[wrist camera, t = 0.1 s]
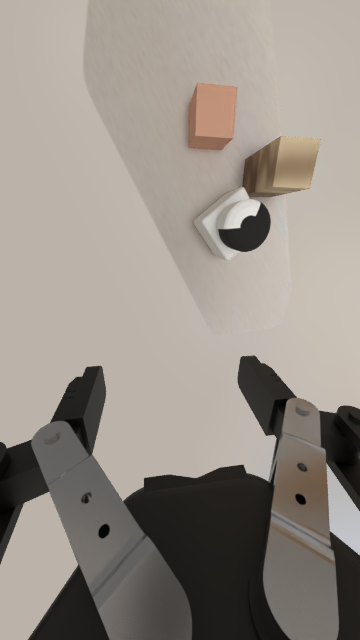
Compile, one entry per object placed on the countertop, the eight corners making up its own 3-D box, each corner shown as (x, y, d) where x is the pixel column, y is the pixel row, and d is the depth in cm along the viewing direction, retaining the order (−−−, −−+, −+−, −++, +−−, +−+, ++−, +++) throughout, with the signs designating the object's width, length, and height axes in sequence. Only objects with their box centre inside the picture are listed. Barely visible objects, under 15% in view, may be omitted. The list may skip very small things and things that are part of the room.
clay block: (189, 103, 30) (197, 82, 26) (224, 107, 31) (237, 87, 27) (188, 147, 32) (195, 135, 28) (221, 150, 33) (232, 138, 29)
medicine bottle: (247, 229, 38) (287, 232, 27) (214, 255, 39) (240, 268, 28) (226, 192, 35) (261, 178, 25) (191, 221, 37) (210, 220, 26)
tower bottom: (245, 159, 34) (260, 149, 29) (275, 161, 35) (294, 151, 30) (241, 196, 36) (254, 192, 31) (269, 197, 37) (286, 193, 32)
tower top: (260, 149, 29) (280, 136, 25) (294, 151, 30) (320, 139, 26) (254, 192, 31) (272, 186, 27) (286, 193, 32) (309, 188, 28)
